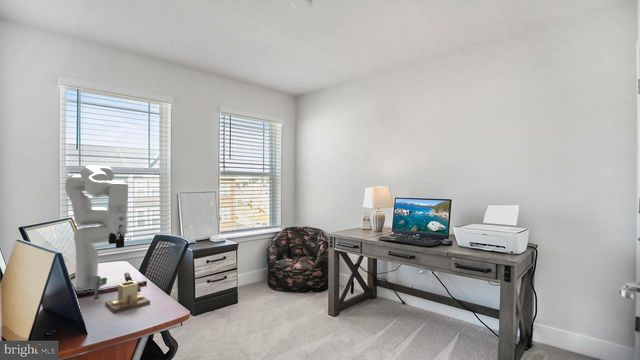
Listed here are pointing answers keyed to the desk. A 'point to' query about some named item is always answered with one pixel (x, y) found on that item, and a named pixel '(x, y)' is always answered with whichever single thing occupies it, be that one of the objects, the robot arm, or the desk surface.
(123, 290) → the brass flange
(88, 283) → the mechanical component
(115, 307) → the post dock
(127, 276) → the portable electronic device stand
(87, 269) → the robot arm
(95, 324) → the desk surface
